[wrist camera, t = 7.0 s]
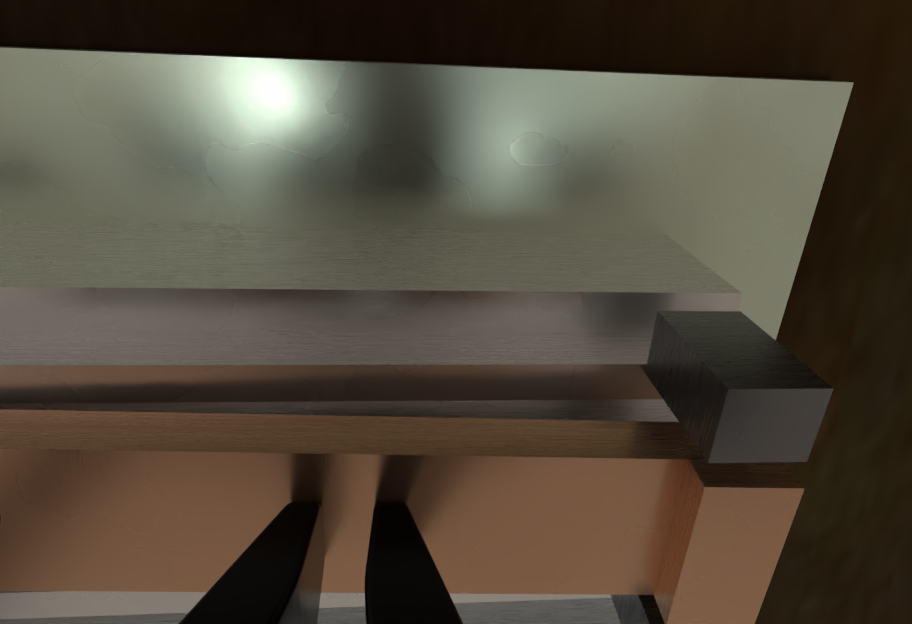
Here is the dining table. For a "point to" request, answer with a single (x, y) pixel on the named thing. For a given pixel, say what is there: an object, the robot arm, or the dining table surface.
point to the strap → (392, 480)
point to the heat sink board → (405, 257)
